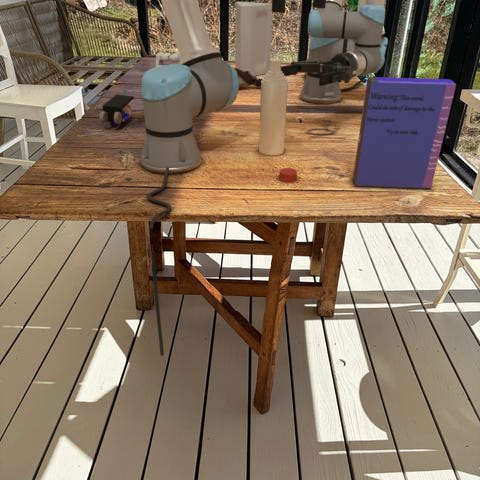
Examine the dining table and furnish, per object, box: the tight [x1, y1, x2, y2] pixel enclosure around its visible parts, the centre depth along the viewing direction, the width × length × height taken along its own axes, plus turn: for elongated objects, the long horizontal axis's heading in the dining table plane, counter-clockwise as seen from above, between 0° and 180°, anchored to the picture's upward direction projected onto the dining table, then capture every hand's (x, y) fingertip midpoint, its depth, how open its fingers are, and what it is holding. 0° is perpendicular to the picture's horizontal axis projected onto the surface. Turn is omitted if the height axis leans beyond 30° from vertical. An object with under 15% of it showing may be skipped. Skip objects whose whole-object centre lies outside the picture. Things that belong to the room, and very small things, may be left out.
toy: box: [155, 51, 181, 67], centre depth 223 cm, size 24×25×7 cm
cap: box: [278, 167, 298, 183], centre depth 115 cm, size 4×4×2 cm
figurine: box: [234, 67, 262, 89], centre depth 190 cm, size 24×8×30 cm
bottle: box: [258, 58, 289, 156], centre depth 126 cm, size 7×7×24 cm
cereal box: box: [352, 76, 457, 190], centre depth 107 cm, size 17×5×24 cm, turn 86°
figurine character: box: [98, 94, 135, 130], centre depth 148 cm, size 7×8×15 cm
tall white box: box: [234, 1, 273, 77], centre depth 210 cm, size 19×15×28 cm
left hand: (299, 10), depth 97 cm, fingers open, 13 cm apart
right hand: (300, 76), depth 128 cm, fingers open, 13 cm apart
